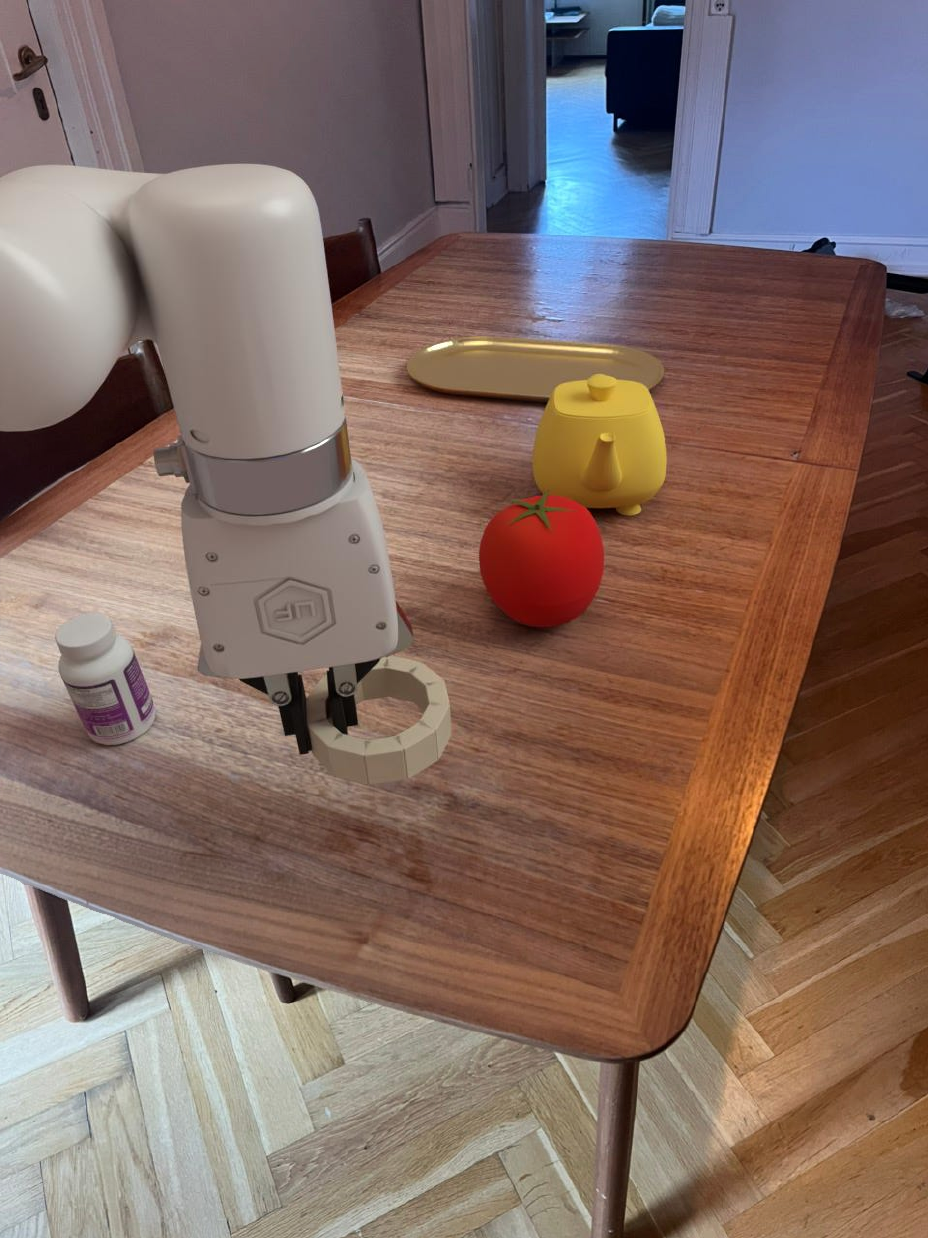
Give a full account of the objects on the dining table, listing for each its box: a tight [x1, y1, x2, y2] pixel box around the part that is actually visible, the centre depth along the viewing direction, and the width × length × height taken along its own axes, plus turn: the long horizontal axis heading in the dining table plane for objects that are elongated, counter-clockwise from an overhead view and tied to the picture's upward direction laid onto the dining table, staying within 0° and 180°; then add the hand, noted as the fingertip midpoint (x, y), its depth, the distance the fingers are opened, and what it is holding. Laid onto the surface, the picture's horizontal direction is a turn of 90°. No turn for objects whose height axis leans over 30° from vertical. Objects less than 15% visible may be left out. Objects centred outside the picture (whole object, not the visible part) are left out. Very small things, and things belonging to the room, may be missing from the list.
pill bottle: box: [54, 612, 157, 746], centre depth 67 cm, size 5×5×10 cm
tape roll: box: [306, 655, 453, 786], centre depth 53 cm, size 8×8×2 cm
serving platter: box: [406, 335, 665, 403], centre depth 119 cm, size 19×35×2 cm, turn 71°
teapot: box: [531, 374, 668, 516], centre depth 89 cm, size 14×20×13 cm
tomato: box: [478, 490, 605, 628], centre depth 75 cm, size 10×11×11 cm
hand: (323, 733), depth 53 cm, fingers closed on tape roll, 1 cm apart
